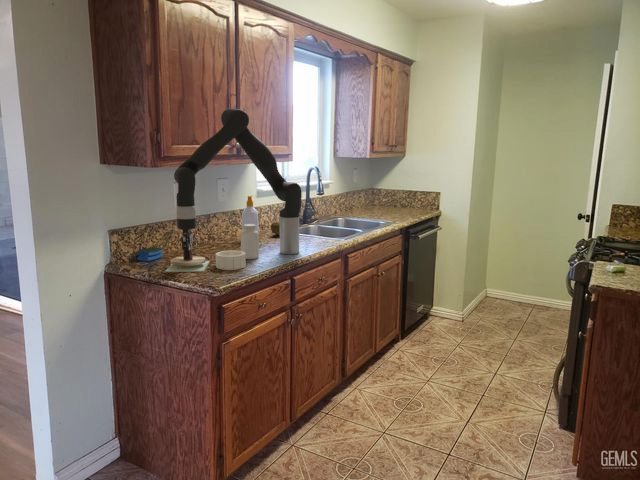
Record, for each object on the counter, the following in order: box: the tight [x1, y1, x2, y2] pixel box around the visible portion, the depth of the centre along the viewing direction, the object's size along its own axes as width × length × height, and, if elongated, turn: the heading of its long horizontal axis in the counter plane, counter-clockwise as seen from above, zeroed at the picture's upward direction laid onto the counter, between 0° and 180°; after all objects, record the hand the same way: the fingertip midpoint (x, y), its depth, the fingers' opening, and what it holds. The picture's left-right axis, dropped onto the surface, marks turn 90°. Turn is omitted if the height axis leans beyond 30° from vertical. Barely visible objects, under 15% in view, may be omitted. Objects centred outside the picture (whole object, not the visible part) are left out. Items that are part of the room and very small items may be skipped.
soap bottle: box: [241, 194, 259, 233], centre depth 257 cm, size 9×9×24 cm
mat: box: [164, 260, 210, 273], centre depth 202 cm, size 17×15×1 cm
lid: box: [169, 246, 207, 266], centre depth 201 cm, size 14×14×6 cm
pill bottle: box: [240, 224, 260, 260], centre depth 218 cm, size 8×8×15 cm
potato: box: [270, 222, 280, 236], centre depth 274 cm, size 8×13×8 cm, turn 147°
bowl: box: [215, 250, 247, 271], centre depth 203 cm, size 12×12×6 cm
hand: (188, 257), depth 201 cm, fingers closed on lid, 3 cm apart
